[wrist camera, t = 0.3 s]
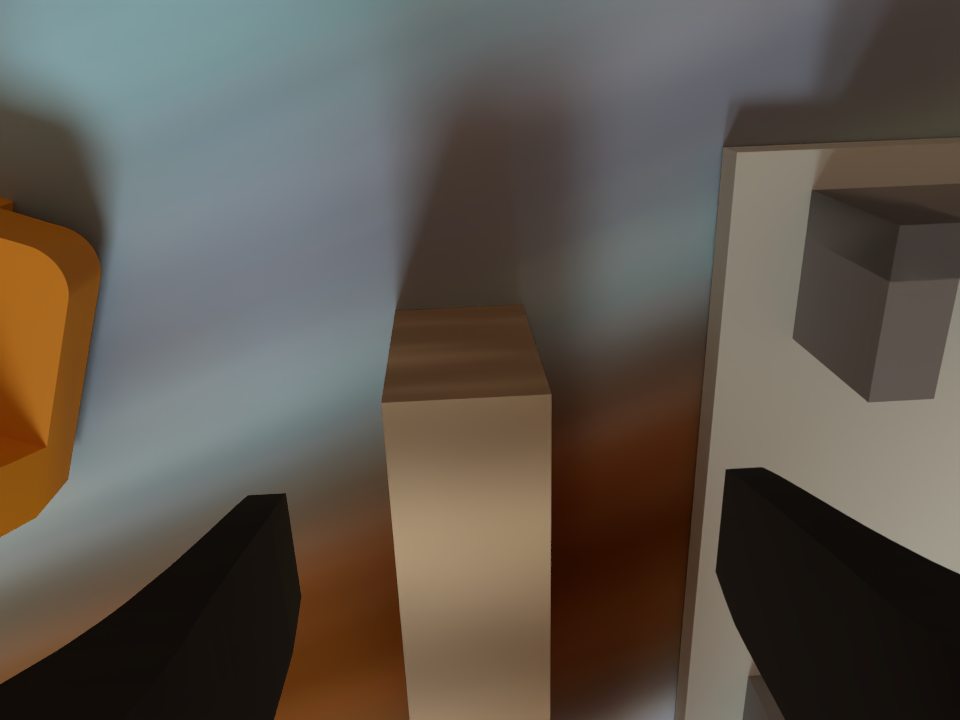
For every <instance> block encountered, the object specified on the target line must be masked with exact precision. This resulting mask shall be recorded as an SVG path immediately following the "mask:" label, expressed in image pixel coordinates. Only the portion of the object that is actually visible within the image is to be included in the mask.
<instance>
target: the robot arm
mask: <svg viewBox="0 0 960 720" xmlns="http://www.w3.org/2000/svg"><path fill="white" fill-rule="evenodd" d="M715 572H716V575H717V578H718V581H719V583H720V586H721V589H722V592H723V595H724V598H725V601H726V603H727V606H728V608H729V611H730V614H731V616H732V619H733V621H734V624H735V626H736V628H737V630H738V632H739V634H740V636H741V638H742V640H743V642H744V644H745V646H746V648H747V650H748V651H749V653H750V655H751V657H752V659H753V661H754V663H755V665H756V667H757V668H758V670H759V672H760V674H761V676H762V678H763V680H764V682H765V683H766V685H767V687H768V689H769V691H770V693H771V695H772V696H773V698H774V700H775V702H776V704H777V706H778V708H779V709H780V711H781V713H782V715H783V717H784V719H785V720H960V574H959V573H957V572H954V571H952V570H950V569H948V568H946V567H944V566H941V565H939V564H937V563H935V562H933V561H931V560H929V559H927V558H925V557H923V556H921V555H919V554H917V553H915V552H913V551H911V550H910V549H908V548H906V547H904V546H902V545H900V544H898V543H896V542H894V541H892V540H890V539H888V538H887V537H885V536H883V535H881V534H879V533H877V532H876V531H874V530H872V529H870V528H868V527H867V526H865V525H863V524H861V523H860V522H858V521H856V520H854V519H853V518H851V517H849V516H847V515H846V514H844V513H842V512H841V511H839V510H837V509H835V508H834V507H832V506H830V505H829V504H827V503H825V502H824V501H822V500H820V499H819V498H817V497H815V496H814V495H812V494H810V493H809V492H807V491H805V490H803V489H802V488H800V487H798V486H797V485H795V484H793V483H791V482H790V481H788V480H786V479H784V478H783V477H781V476H779V475H777V474H775V473H773V472H772V471H769V470H767V469H765V468H763V467H754V468H736V469H726V471H725V481H724V491H723V501H722V511H721V521H720V531H719V541H718V551H717V561H716V571H715ZM300 601H301V592H300V586H299V579H298V572H297V565H296V559H295V552H294V545H293V538H292V532H291V525H290V518H289V512H288V505H287V498H286V493H284V494H266V495H248V496H247V497H246V498H244V499H243V500H242V501H241V502H240V503H239V504H238V505H236V506H235V507H234V508H233V509H232V510H231V511H230V512H229V513H228V514H227V515H226V516H225V517H224V518H222V519H221V520H220V521H219V522H218V523H217V524H216V525H215V526H214V527H213V528H212V529H211V530H210V531H209V532H208V533H207V534H205V535H204V536H203V537H202V538H201V539H200V540H199V541H198V542H197V543H196V544H194V545H193V546H192V547H191V548H190V549H189V550H188V551H187V552H186V553H185V554H183V555H182V556H181V557H180V558H179V559H178V560H177V561H176V562H175V563H173V564H172V565H171V566H170V567H169V568H168V569H166V570H165V571H164V572H163V573H161V574H160V575H159V576H158V577H157V578H155V579H154V580H153V581H152V582H150V583H149V584H148V585H147V586H146V587H144V588H143V589H142V590H141V591H140V592H138V593H137V594H136V595H135V596H133V597H132V598H131V599H130V600H129V601H127V602H126V603H125V604H123V605H122V606H121V607H120V608H118V609H117V610H116V611H114V612H113V613H112V614H110V615H109V616H107V617H106V618H105V619H103V620H102V621H101V622H99V623H98V624H96V625H95V626H93V627H92V628H90V629H89V630H87V631H86V632H85V633H83V634H82V635H80V636H79V637H77V638H76V639H74V640H73V641H71V642H70V643H68V644H67V645H65V646H64V647H62V648H61V649H59V650H58V651H56V652H54V653H53V654H51V655H49V656H48V657H46V658H44V659H42V660H41V661H39V662H37V663H36V664H34V665H32V666H31V667H29V668H27V669H26V670H24V671H22V672H20V673H19V674H17V675H15V676H14V677H12V678H10V679H9V680H7V681H5V682H4V683H2V684H0V720H274V717H275V714H276V710H277V707H278V703H279V700H280V696H281V693H282V689H283V686H284V682H285V679H286V675H287V672H288V668H289V665H290V661H291V657H292V654H293V648H294V642H295V635H296V629H297V622H298V615H299V608H300Z"/></svg>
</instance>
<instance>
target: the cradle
mask: <svg viewBox="0 0 960 720" xmlns="http://www.w3.org/2000/svg"><path fill="white" fill-rule="evenodd" d="M754 467H763V468H765V469H767V470H769V471H772V472H773V473H775V474H777V475H779V476H781V477H783V478H784V479H786V480H788V481H790V482H791V483H793V484H795V485H797V486H798V487H800V488H802V489H803V490H805V491H807V492H809V493H810V494H812V495H814V496H815V497H817V498H819V499H820V500H822V501H824V502H825V503H827V504H829V505H830V506H832V507H834V508H835V509H837V510H839V511H841V512H842V513H844V514H846V515H847V516H849V517H851V518H853V519H854V520H856V521H858V522H860V523H861V524H863V525H865V526H867V527H868V528H870V529H872V530H874V531H876V532H877V533H879V534H881V535H883V536H885V537H887V538H888V539H890V540H892V541H894V542H896V543H898V544H900V545H902V546H904V547H906V548H908V549H910V550H911V551H913V552H915V553H917V554H919V555H921V556H923V557H925V558H927V559H929V560H931V561H933V562H935V563H937V564H939V565H941V566H944V567H946V568H948V569H950V570H952V571H954V572H957V573H959V574H960V137H955V138H931V139H908V140H884V141H861V142H837V143H813V144H790V145H766V146H742V147H723V154H722V166H721V178H720V190H719V201H718V213H717V225H716V237H715V248H714V260H713V272H712V284H711V295H710V307H709V319H708V331H707V342H706V354H705V366H704V378H703V389H702V401H701V413H700V425H699V436H698V448H697V460H696V472H695V483H694V495H693V507H692V519H691V530H690V542H689V554H688V566H687V577H686V589H685V601H684V613H683V624H682V636H681V648H680V660H679V671H678V683H677V695H676V707H675V718H674V720H785V719H784V717H783V715H782V713H781V711H780V709H779V708H778V706H777V704H776V702H775V700H774V698H773V696H772V695H771V693H770V691H769V689H768V687H767V685H766V683H765V682H764V680H763V678H762V676H761V674H760V672H759V670H758V668H757V667H756V665H755V663H754V661H753V659H752V657H751V655H750V653H749V651H748V650H747V648H746V646H745V644H744V642H743V640H742V638H741V636H740V634H739V632H738V630H737V628H736V626H735V624H734V621H733V619H732V616H731V614H730V611H729V608H728V606H727V603H726V601H725V598H724V595H723V592H722V589H721V586H720V583H719V581H718V578H717V575H716V572H715V571H716V561H717V551H718V541H719V531H720V521H721V511H722V501H723V491H724V481H725V471H726V469H736V468H754Z"/></svg>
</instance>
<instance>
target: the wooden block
mask: <svg viewBox="0 0 960 720" xmlns="http://www.w3.org/2000/svg"><path fill="white" fill-rule="evenodd" d="M381 404H382V416H383V427H384V438H385V449H386V460H387V472H388V483H389V494H390V505H391V516H392V528H393V539H394V550H395V561H396V572H397V583H398V595H399V606H400V617H401V628H402V639H403V651H404V662H405V673H406V684H407V695H408V707H409V718H410V720H550V625H551V428H552V394H551V391H550V388H549V385H548V381H547V378H546V375H545V372H544V369H543V366H542V363H541V360H540V357H539V354H538V351H537V348H536V344H535V341H534V338H533V335H532V332H531V329H530V326H529V323H528V320H527V317H526V314H525V311H524V307H523V305H502V306H480V307H458V308H437V309H415V310H395V316H394V323H393V330H392V336H391V343H390V349H389V356H388V362H387V369H386V376H385V382H384V389H383V395H382V402H381Z"/></svg>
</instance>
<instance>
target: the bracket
mask: <svg viewBox="0 0 960 720" xmlns="http://www.w3.org/2000/svg"><path fill="white" fill-rule="evenodd" d="M13 204H14V201H11V200H8V199H5V198H1V197H0V537H1V536H3V535H5V534H7V533H9V532H10V531H12V530H14V529H16V528H18V527H20V526H21V525H23V524H25V523H27V522H29V521H30V520H32V519H34V518H36V517H37V516H38V515H39V513H40V512H41V511H42V510H43V509H44V508H45V506H46V505H47V504H48V503H49V502H50V500H51V499H52V498H53V497H54V496H55V494H56V493H57V492H58V491H59V490H60V488H61V487H62V486H63V485H64V484H65V482H66V481H67V480H68V476H69V470H70V464H71V457H72V451H73V445H74V439H75V433H76V427H77V420H78V414H79V408H80V402H81V396H82V390H83V383H84V377H85V371H86V365H87V359H88V353H89V346H90V340H91V334H92V328H93V322H94V316H95V309H96V303H97V297H98V291H99V285H100V279H101V266H100V261H99V258H98V256H97V254H96V252H95V250H94V249H93V247H92V246H91V245H90V243H89V242H88V241H87V240H86V239H85V238H83V237H82V236H81V235H80V234H78V233H76V232H75V231H73V230H71V229H68V228H66V227H63V226H59V225H56V224H52V223H49V222H46V221H42V220H39V219H35V218H32V217H29V216H25V215H22V214H19V213H15V212H13Z"/></svg>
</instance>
